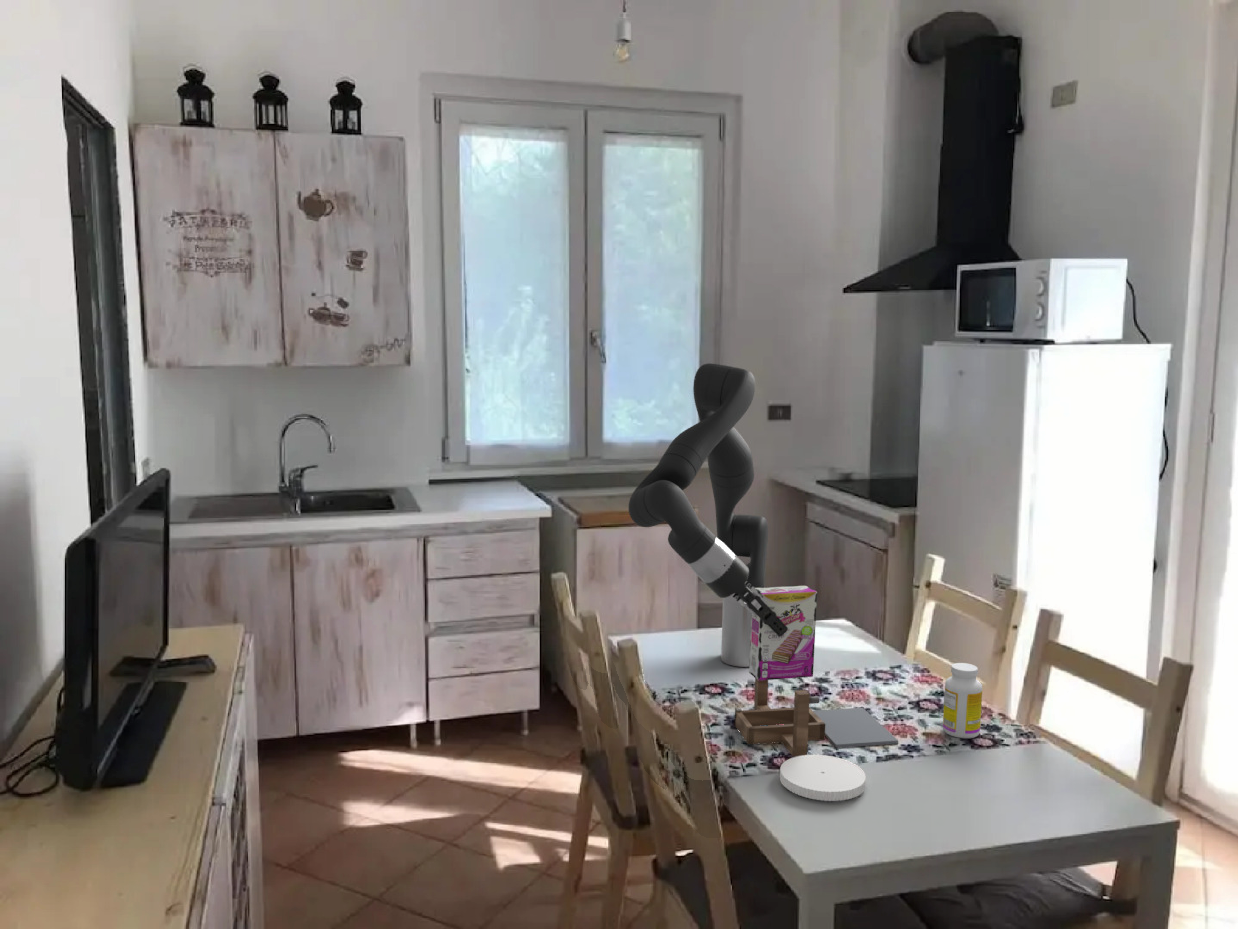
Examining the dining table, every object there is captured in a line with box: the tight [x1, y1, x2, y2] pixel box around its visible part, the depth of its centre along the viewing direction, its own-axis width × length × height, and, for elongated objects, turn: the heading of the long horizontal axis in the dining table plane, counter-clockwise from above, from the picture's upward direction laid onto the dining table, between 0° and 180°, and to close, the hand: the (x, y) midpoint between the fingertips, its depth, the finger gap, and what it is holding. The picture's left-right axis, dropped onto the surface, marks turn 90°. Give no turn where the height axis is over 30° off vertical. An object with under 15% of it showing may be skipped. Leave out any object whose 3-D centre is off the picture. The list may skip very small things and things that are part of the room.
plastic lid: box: [779, 754, 867, 802], centre depth 172 cm, size 14×14×2 cm
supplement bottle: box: [942, 662, 983, 739], centre depth 194 cm, size 7×7×13 cm
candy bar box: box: [748, 585, 818, 681], centre depth 191 cm, size 11×5×16 cm, turn 105°
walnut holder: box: [734, 677, 826, 758], centre depth 193 cm, size 24×15×12 cm, turn 10°
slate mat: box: [812, 707, 899, 749], centre depth 196 cm, size 16×12×1 cm
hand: (778, 627), depth 191 cm, fingers closed on candy bar box, 5 cm apart
